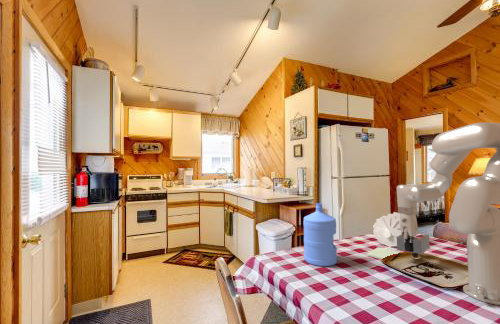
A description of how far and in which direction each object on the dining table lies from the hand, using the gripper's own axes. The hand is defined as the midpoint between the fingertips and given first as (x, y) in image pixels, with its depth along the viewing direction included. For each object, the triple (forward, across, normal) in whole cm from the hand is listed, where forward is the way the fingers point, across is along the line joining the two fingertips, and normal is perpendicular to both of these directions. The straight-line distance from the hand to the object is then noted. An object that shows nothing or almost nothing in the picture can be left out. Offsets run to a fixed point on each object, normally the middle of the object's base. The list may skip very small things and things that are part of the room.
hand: (410, 250), depth 112 cm
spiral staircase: (+6, +30, +16) cm, 35 cm away
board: (+6, +6, +14) cm, 16 cm away
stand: (+6, +12, +1) cm, 13 cm away
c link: (+1, +6, 0) cm, 6 cm away
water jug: (+6, -26, +32) cm, 41 cm away
